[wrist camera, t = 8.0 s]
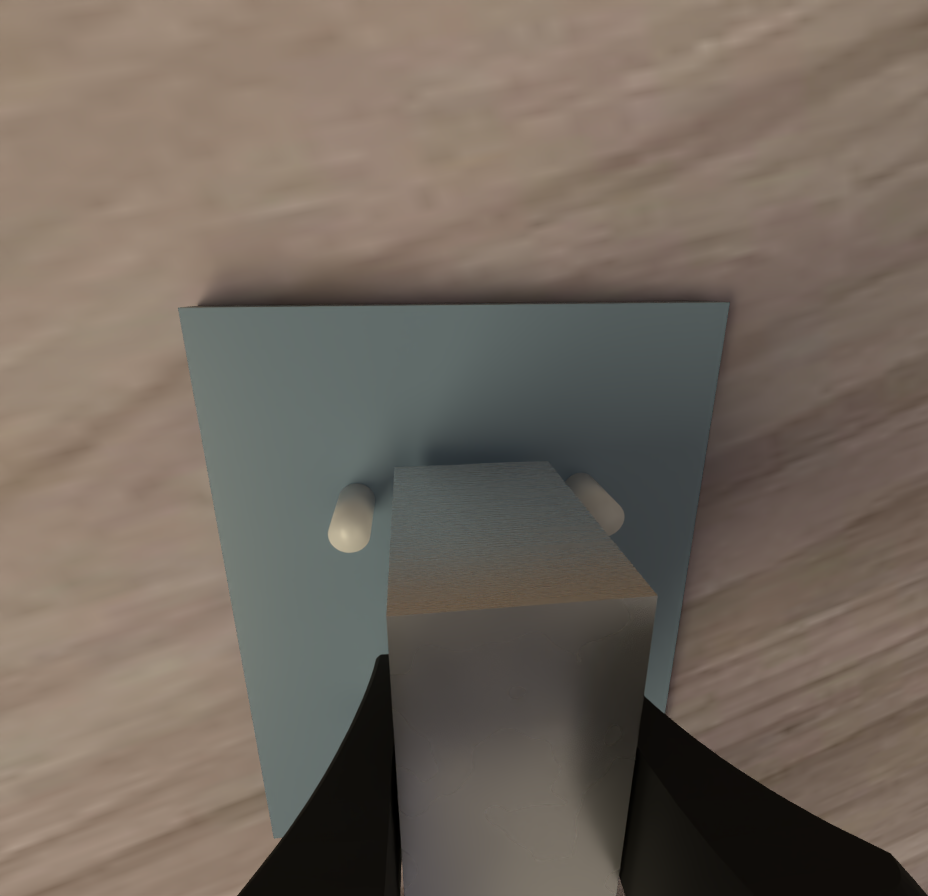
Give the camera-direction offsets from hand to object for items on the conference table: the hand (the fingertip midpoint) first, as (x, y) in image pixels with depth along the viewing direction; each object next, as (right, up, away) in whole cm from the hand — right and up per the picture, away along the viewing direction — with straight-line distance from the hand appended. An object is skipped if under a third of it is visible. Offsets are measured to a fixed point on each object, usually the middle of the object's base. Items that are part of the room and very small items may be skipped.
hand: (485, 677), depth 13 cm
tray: (0, +1, +4) cm, 4 cm away
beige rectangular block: (0, +1, +2) cm, 2 cm away
